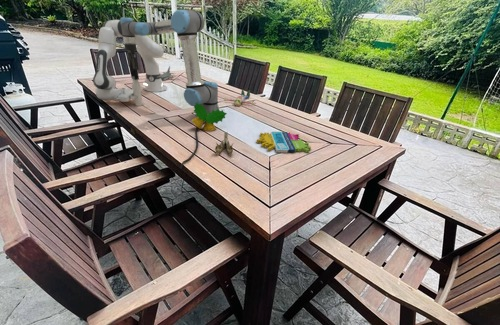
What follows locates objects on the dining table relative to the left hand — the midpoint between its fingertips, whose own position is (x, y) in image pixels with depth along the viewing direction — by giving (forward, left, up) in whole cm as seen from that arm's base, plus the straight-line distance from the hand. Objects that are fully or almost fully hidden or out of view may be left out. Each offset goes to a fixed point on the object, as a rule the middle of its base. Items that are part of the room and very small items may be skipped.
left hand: (138, 96), depth 194 cm
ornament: (+42, +56, -7) cm, 70 cm away
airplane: (-88, -3, -7) cm, 89 cm away
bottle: (0, -1, -7) cm, 7 cm away
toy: (-21, +77, -7) cm, 80 cm away
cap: (0, -1, +14) cm, 14 cm away
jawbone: (+73, +66, -7) cm, 99 cm away
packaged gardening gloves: (+60, +99, -7) cm, 116 cm away
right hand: (0, -1, +13) cm, 13 cm away
